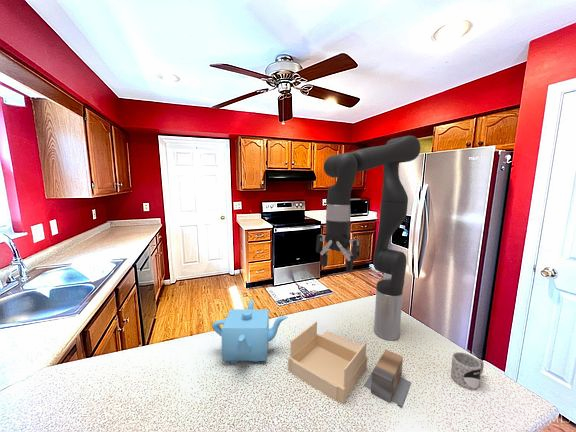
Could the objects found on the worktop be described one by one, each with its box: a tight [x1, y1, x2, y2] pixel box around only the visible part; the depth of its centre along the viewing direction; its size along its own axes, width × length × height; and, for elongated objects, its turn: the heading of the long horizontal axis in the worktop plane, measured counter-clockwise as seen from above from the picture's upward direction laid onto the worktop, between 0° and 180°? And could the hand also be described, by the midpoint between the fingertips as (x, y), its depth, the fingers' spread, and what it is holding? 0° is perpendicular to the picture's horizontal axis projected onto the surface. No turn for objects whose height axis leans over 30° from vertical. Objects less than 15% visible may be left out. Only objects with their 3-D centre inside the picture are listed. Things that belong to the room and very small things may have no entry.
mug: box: [450, 351, 485, 391], centre depth 71 cm, size 10×7×7 cm
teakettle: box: [212, 299, 288, 365], centre depth 80 cm, size 19×19×15 cm
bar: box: [370, 349, 404, 403], centre depth 68 cm, size 12×5×6 cm, turn 141°
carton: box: [287, 321, 368, 405], centre depth 74 cm, size 20×18×10 cm
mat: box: [363, 372, 412, 409], centre depth 68 cm, size 10×10×1 cm
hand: (336, 268), depth 77 cm, fingers open, 8 cm apart
